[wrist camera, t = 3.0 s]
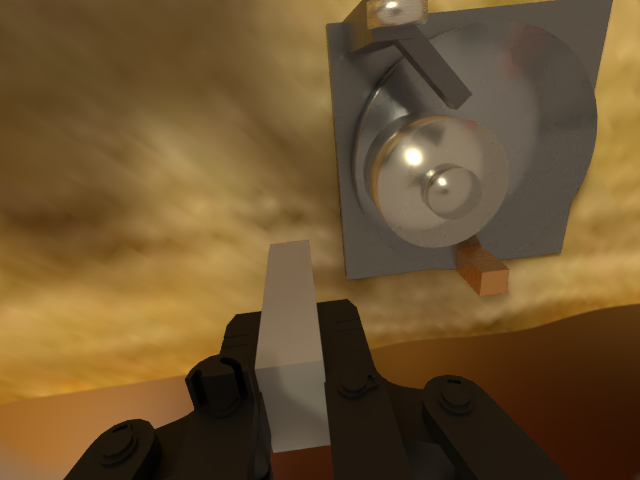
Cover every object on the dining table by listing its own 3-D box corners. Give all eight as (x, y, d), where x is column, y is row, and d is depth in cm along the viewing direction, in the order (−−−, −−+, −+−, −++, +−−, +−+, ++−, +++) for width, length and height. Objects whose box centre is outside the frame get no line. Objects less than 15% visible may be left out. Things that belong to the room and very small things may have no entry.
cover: (365, 226, 27) (387, 265, 21) (360, 118, 24) (384, 129, 18) (466, 213, 28) (514, 249, 22) (474, 105, 24) (534, 112, 18)
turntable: (343, 38, 24) (360, 25, 18) (600, 11, 24) (690, -9, 19) (358, 270, 31) (373, 310, 26) (554, 245, 32) (609, 278, 26)
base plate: (345, 274, 33) (347, 280, 32) (325, 25, 25) (327, 23, 24) (553, 247, 34) (560, 252, 33) (602, -3, 25) (614, -6, 24)
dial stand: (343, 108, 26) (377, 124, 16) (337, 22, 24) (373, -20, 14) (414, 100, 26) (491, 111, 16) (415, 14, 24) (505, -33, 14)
